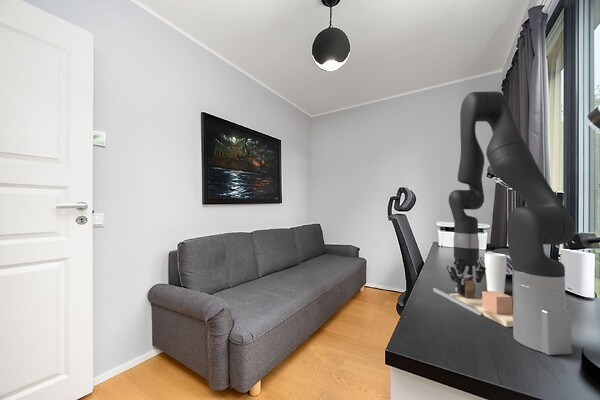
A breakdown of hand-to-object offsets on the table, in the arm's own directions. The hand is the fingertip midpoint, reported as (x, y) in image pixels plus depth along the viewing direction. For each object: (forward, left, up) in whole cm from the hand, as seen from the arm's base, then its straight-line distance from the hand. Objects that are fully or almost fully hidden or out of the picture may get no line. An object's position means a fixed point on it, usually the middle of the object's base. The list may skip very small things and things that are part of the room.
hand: (466, 294), depth 87 cm
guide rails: (0, 0, -2) cm, 2 cm away
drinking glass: (+8, -19, -3) cm, 21 cm away
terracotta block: (-12, 0, -1) cm, 12 cm away
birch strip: (-8, 0, -2) cm, 8 cm away
